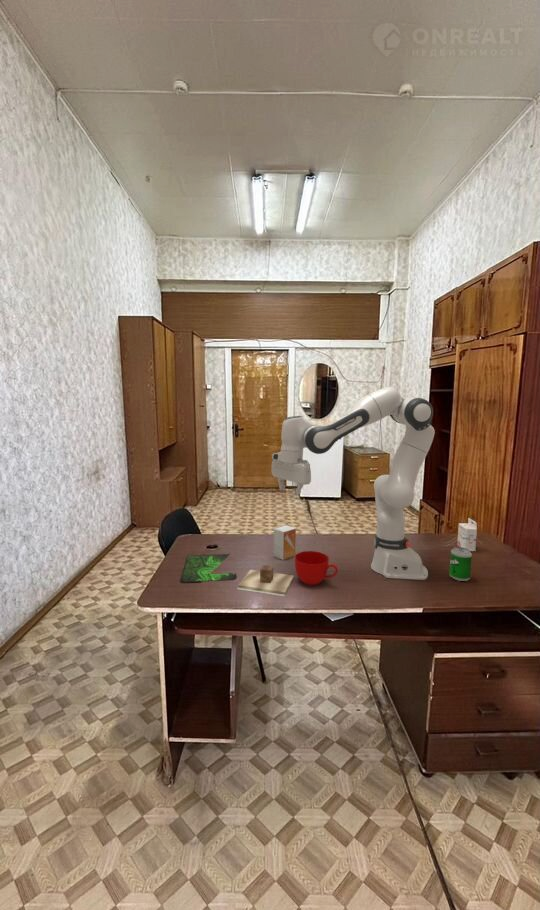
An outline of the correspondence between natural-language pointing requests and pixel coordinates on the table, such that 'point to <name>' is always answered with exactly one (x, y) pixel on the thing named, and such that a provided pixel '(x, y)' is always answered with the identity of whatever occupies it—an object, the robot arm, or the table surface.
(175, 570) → the table surface
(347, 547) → the table surface
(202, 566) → the mouse mat
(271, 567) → the lid
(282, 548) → the small box
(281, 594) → the mat
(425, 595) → the table surface
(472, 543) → the ink cartridge box
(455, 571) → the soda can
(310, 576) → the ceramic cup
